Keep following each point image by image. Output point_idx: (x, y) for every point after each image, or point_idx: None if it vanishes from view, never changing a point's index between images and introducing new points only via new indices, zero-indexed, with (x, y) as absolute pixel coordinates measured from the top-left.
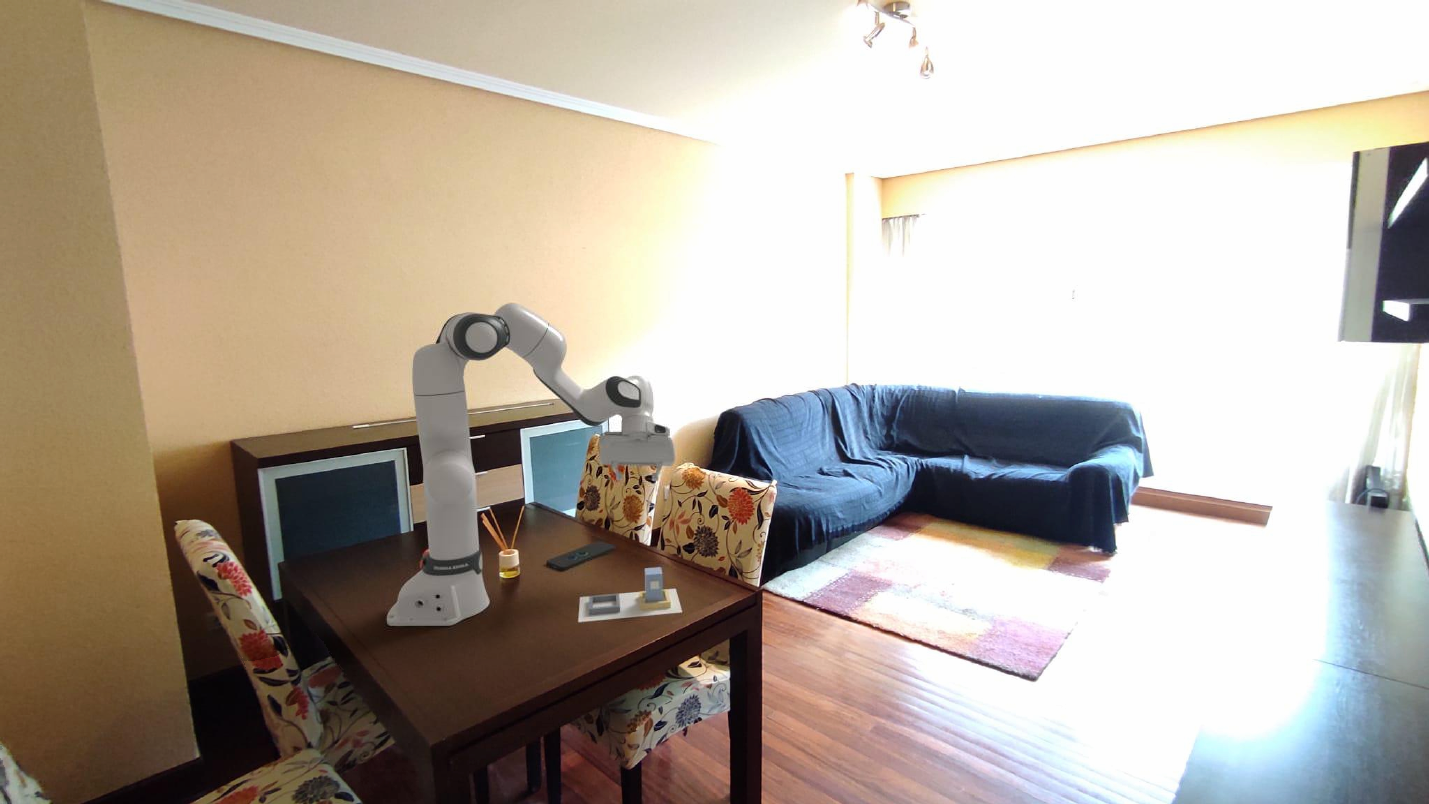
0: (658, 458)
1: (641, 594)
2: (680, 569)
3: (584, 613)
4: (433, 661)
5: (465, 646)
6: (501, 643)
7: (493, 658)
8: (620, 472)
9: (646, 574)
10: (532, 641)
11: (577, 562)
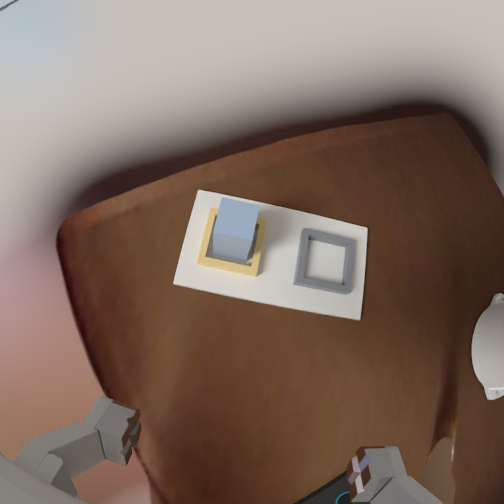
0: (15, 488)
1: (254, 259)
2: (128, 382)
3: (357, 251)
4: (490, 219)
5: (475, 236)
6: (447, 224)
7: (447, 195)
8: (383, 475)
9: (257, 207)
10: (417, 212)
11: (339, 479)
